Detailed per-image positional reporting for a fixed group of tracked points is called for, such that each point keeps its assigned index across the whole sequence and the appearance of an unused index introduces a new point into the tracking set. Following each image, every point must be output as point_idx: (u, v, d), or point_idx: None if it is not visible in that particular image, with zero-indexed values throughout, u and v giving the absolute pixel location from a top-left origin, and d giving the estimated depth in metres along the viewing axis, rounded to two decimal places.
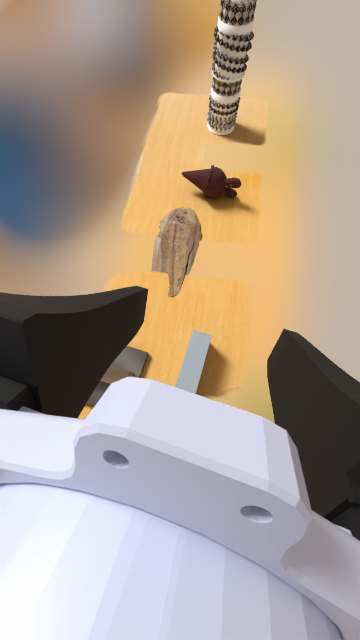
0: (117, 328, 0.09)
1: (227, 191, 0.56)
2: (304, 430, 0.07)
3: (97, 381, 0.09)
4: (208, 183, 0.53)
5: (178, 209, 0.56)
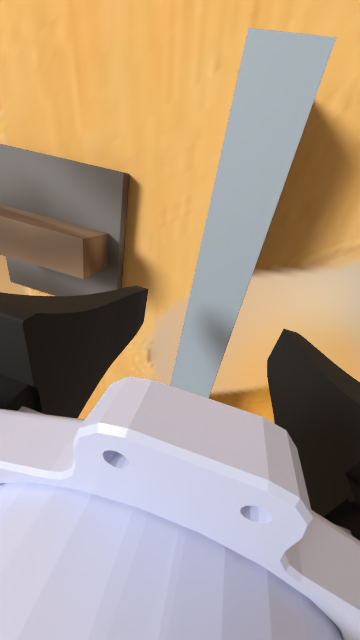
0: (117, 328, 0.09)
1: None
2: (304, 430, 0.07)
3: (97, 381, 0.09)
4: None
5: None
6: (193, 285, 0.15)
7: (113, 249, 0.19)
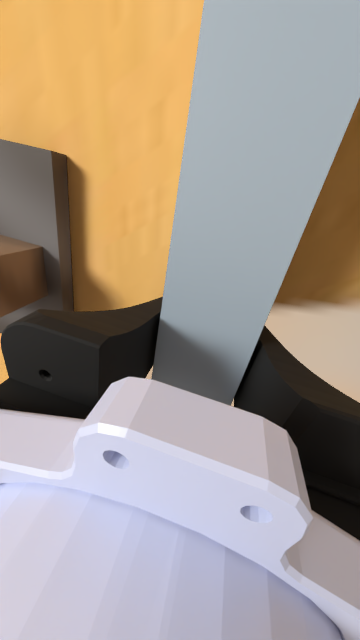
0: (155, 340, 0.09)
1: None
2: (250, 412, 0.07)
3: None
4: None
5: None
6: (158, 343, 0.09)
7: (52, 269, 0.13)
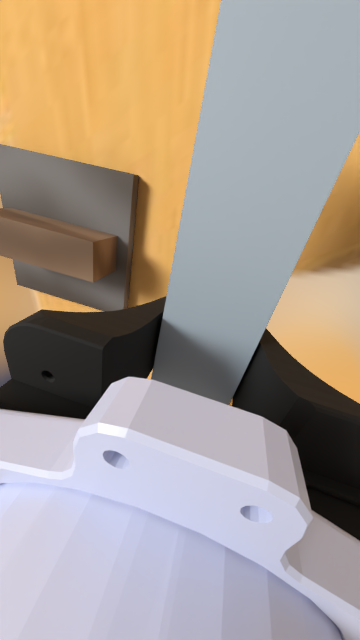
0: (156, 340, 0.09)
1: None
2: (248, 411, 0.07)
3: None
4: None
5: None
6: (160, 341, 0.09)
7: (122, 251, 0.19)
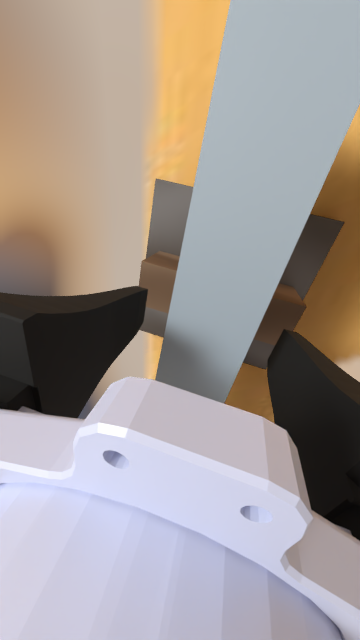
0: (117, 328, 0.09)
1: None
2: (304, 430, 0.07)
3: (97, 381, 0.09)
4: None
5: None
6: (166, 332, 0.09)
7: None
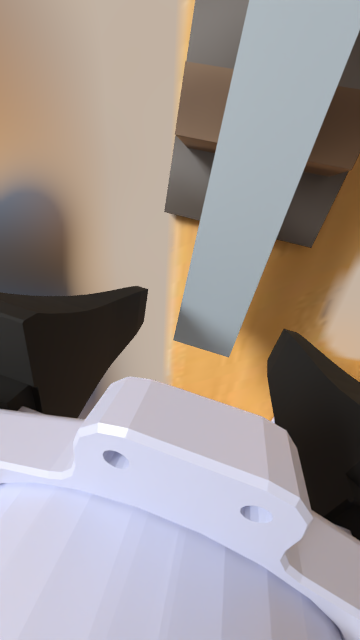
0: (117, 328, 0.09)
1: None
2: (304, 430, 0.07)
3: (97, 381, 0.09)
4: None
5: None
6: (243, 39, 0.07)
7: None
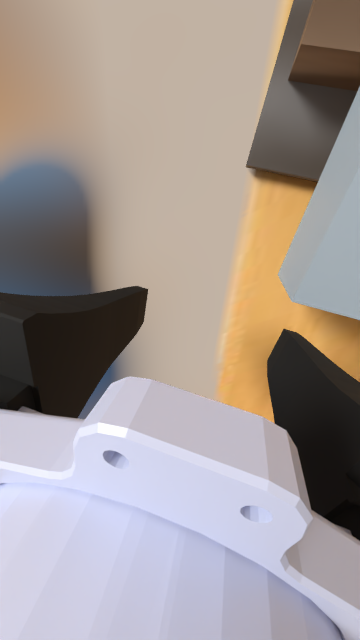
0: (117, 328, 0.09)
1: None
2: (304, 430, 0.07)
3: (97, 381, 0.09)
4: None
5: None
6: None
7: None
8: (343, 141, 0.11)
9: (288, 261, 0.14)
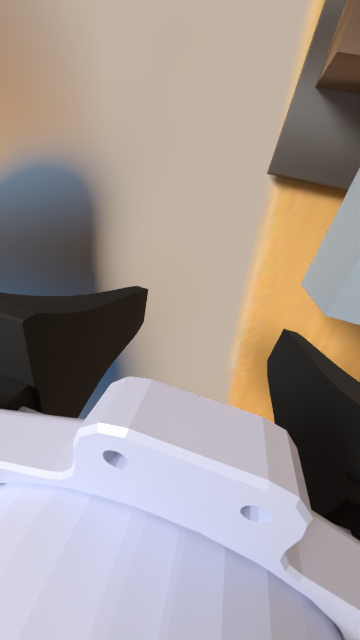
0: (117, 328, 0.09)
1: None
2: (304, 430, 0.07)
3: (97, 381, 0.09)
4: None
5: None
6: None
7: None
8: None
9: (314, 271, 0.13)
